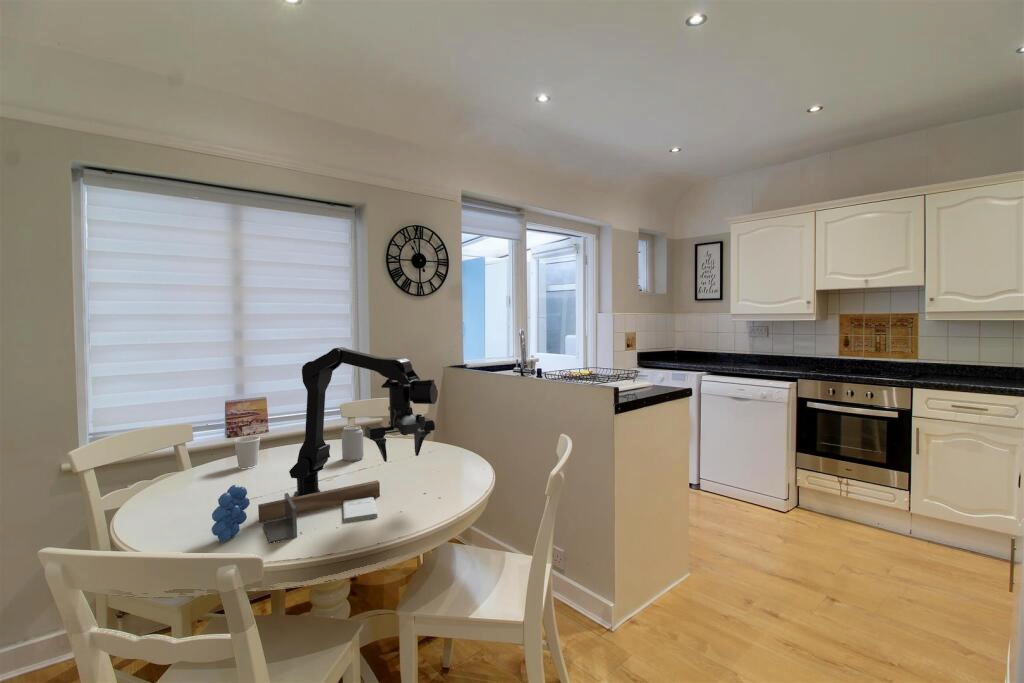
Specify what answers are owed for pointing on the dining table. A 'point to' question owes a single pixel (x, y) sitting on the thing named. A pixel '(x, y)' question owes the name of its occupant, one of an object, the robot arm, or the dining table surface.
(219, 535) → the grapes
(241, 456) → the dixie cup
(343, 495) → the rail
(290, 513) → the bookend
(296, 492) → the robot arm
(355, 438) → the can
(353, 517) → the external hard drive
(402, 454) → the dining table surface
